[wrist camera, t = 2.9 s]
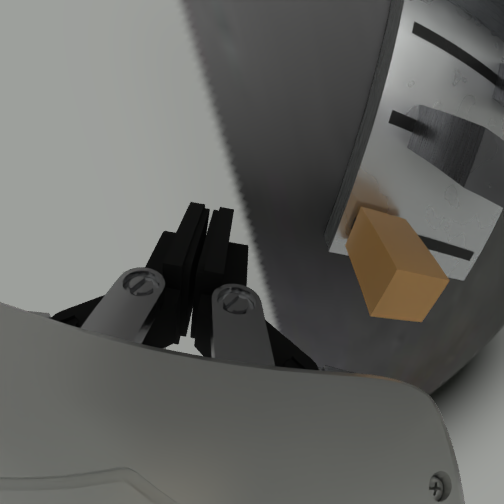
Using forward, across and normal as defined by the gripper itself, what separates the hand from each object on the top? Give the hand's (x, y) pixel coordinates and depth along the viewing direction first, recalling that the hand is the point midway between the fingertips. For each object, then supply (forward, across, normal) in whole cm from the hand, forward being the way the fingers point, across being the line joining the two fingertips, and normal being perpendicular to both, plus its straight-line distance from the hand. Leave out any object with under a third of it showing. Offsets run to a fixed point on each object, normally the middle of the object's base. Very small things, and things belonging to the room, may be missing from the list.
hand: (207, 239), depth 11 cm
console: (+5, -12, -7) cm, 15 cm away
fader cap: (+3, -8, 0) cm, 9 cm away
